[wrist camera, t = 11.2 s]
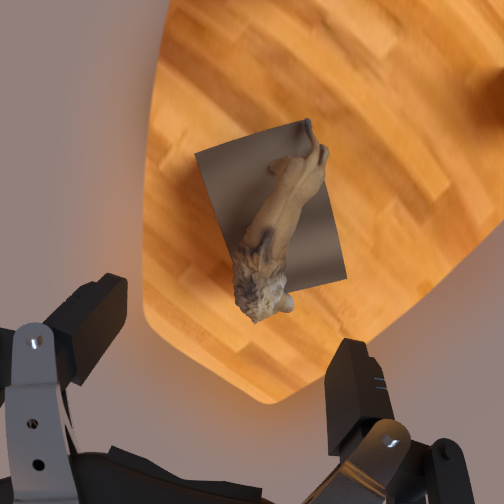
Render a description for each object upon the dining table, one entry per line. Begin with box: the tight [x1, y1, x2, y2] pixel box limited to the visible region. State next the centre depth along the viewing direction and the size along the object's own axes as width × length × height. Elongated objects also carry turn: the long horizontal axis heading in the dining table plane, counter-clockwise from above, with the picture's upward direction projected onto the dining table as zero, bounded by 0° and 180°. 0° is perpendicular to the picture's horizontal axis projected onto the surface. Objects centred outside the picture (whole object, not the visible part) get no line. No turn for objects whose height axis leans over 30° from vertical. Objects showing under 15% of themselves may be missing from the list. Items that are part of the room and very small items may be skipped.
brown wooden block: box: [194, 120, 347, 293], centre depth 31 cm, size 15×10×8 cm, turn 18°
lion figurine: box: [232, 118, 329, 324], centre depth 23 cm, size 15×5×9 cm, turn 167°
